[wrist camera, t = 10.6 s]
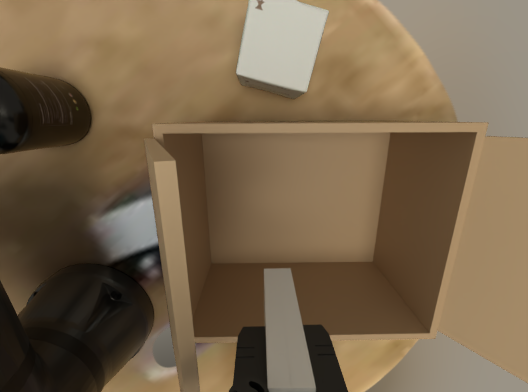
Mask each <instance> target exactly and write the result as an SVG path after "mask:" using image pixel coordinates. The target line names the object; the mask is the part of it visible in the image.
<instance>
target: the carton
mask: <svg viewBox="0 0 528 392" xmlns="http://www.w3.org/2000/svg"><path fill="white" fill-rule="evenodd" d="M152 127H153V135H154V139H155V140H156V141H157V142H158V143H159V144H160V145H161V146H162V147H163V148H164V149H165V150H166V151H167V152H168V153H169V154H170V155H171V156H172V157H173V158H174V159H175V161H176V170H177V180H178V189H179V198H180V208H181V217H182V226H183V236H184V245H185V255H186V264H187V273H188V283H189V292H190V301H191V311H192V320H193V329H194V339H195V343H222V342H237V339H238V335H239V333H240V332H241V330H242V328H243V327H250V326H264V269H275V268H291V273H292V278H293V282H294V287H295V292H296V297H297V301H298V306H299V311H300V315H301V320H302V325H319V324H321V325H322V326H323V327H324V328H325V330H326V331H327V332H328V333H329V335H330V338H331V341H336V340H393V339H435V338H436V333H437V329H438V325H439V321H440V317H441V313H442V309H443V305H444V301H445V297H446V293H447V289H448V285H449V281H450V277H451V273H452V269H453V265H454V261H455V256H456V252H457V248H458V244H459V240H460V236H461V232H462V228H463V224H464V220H465V216H466V212H467V208H468V204H469V200H470V196H471V192H472V188H473V184H474V179H475V175H476V171H477V167H478V163H479V159H480V155H481V151H482V147H483V143H484V139H485V135H486V131H487V127H488V123H482V122H416V121H316V122H185V123H163V124H152Z"/></svg>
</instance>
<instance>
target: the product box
mask: <svg viewBox="0 0 528 392" xmlns="http://www.w3.org/2000/svg"><path fill="white" fill-rule="evenodd" d="M328 14H329V11H328V10H325V9H322V8H319V7H315V6H312V5H308V4H305V3H302V2H299V1H297V0H249V3H248V8H247V13H246V19H245V24H244V29H243V35H242V40H241V46H240V51H239V57H238V63H237V69H236V74H237V77H238V79H239V81H240V83H241V85H243V86H248V87H253V88H257V89H261V90H265V91H269V92H272V93H275V94H279V95H282V96H285V97H288V98H291V99H296V98H297V97H299V96H300V95H302V94H304V93H305V92H307V89H308V86H309V82H310V78H311V75H312V71H313V68H314V64H315V60H316V57H317V53H318V50H319V46H320V42H321V39H322V35H323V31H324V28H325V24H326V20H327V17H328Z"/></svg>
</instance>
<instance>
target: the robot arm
mask: <svg viewBox="0 0 528 392" xmlns="http://www.w3.org/2000/svg"><path fill="white" fill-rule="evenodd" d="M153 320H154V314H153V308H152V304H151V302H150V300H149V298H148V296H147V294H146V293H145V291H144V290H143V289H142V288H141V287H140V286H139V285H138V284H137V283H136V282H135V281H134V280H133V279H131V278H130V277H129V276H127V275H125V274H124V273H122V272H120V271H118V270H115V269H113V268H110V267H106V266H102V265H96V264H78V265H73V266H69V267H66V268H64V269H62V270H60V271H58V272H56V273H55V274H54V275H52V276H51V277H50V278H48V279H47V280H46V281H44V282H43V283H42V284H41V285H40V286H39V287H38V288H37V289H36V290H35V291H34V292H33V294H32V295H31V297H30V298H29V300H28V302H27V305H26V307H25V308H24V309H23V310H22V311H21V312H20V314H19V315H18V316H17V314H16V312H15V310H14V308H13V306H12V303H11V301H10V299H9V297H8V295H7V293H6V291H5V289H4V287H3V285H2V283H1V281H0V392H101V391H102V389H103V388H104V386H105V385H106V384H107V383H108V382H109V381H110V380H111V379H112V378H113V377H114V376H115V375H116V374H117V373H118V372H119V370H120V369H121V368H122V367H123V366H124V365H125V364H126V363H127V362H128V361H129V360H130V359H131V358H133V357H134V356H135V355H136V354H137V353H138V352H139V351H140V349H141V348H142V346H143V345H144V343H145V341H146V339H147V337H148V335H149V333H150V331H151V329H152V326H153ZM229 392H348V390H347V387H346V384H345V381H344V378H343V375H342V372H341V369H340V366H339V363H338V360H337V357H336V354H335V351H334V348H333V344H332V341H331V338H330V335H329V333H328V332H327V331H326V330H325V328H324V327H323V326H322V325H321V324H319V325H302V320H301V315H300V311H299V306H298V301H297V297H296V292H295V287H294V282H293V278H292V273H291V268H275V269H264V326H250V327H243V328H242V330H241V332H240V333H239V335H238V339H237V350H236V360H235V370H234V381H233V386H232V387H231V388H230V390H229Z"/></svg>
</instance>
